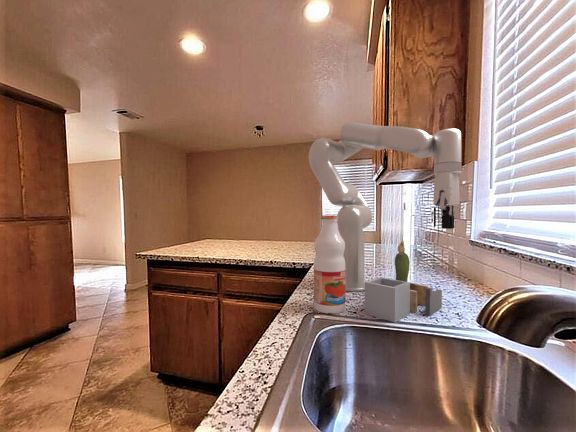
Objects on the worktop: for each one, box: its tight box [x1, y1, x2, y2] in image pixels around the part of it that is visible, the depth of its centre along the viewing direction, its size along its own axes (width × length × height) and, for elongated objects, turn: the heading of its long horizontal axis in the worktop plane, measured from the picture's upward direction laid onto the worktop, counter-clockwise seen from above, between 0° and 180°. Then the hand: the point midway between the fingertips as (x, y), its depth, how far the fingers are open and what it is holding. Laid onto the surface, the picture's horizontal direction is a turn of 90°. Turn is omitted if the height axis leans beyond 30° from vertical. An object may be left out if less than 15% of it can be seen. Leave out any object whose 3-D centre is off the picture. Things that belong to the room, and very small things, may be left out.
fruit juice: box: [313, 214, 346, 315], centre depth 85 cm, size 9×9×28 cm
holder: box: [410, 282, 429, 313], centre depth 89 cm, size 11×9×6 cm
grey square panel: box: [424, 286, 443, 317], centre depth 83 cm, size 1×9×8 cm, turn 133°
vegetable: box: [394, 240, 411, 282], centre depth 90 cm, size 4×4×20 cm
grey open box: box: [364, 276, 411, 323], centre depth 81 cm, size 9×9×9 cm
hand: (447, 228), depth 90 cm, fingers closed
